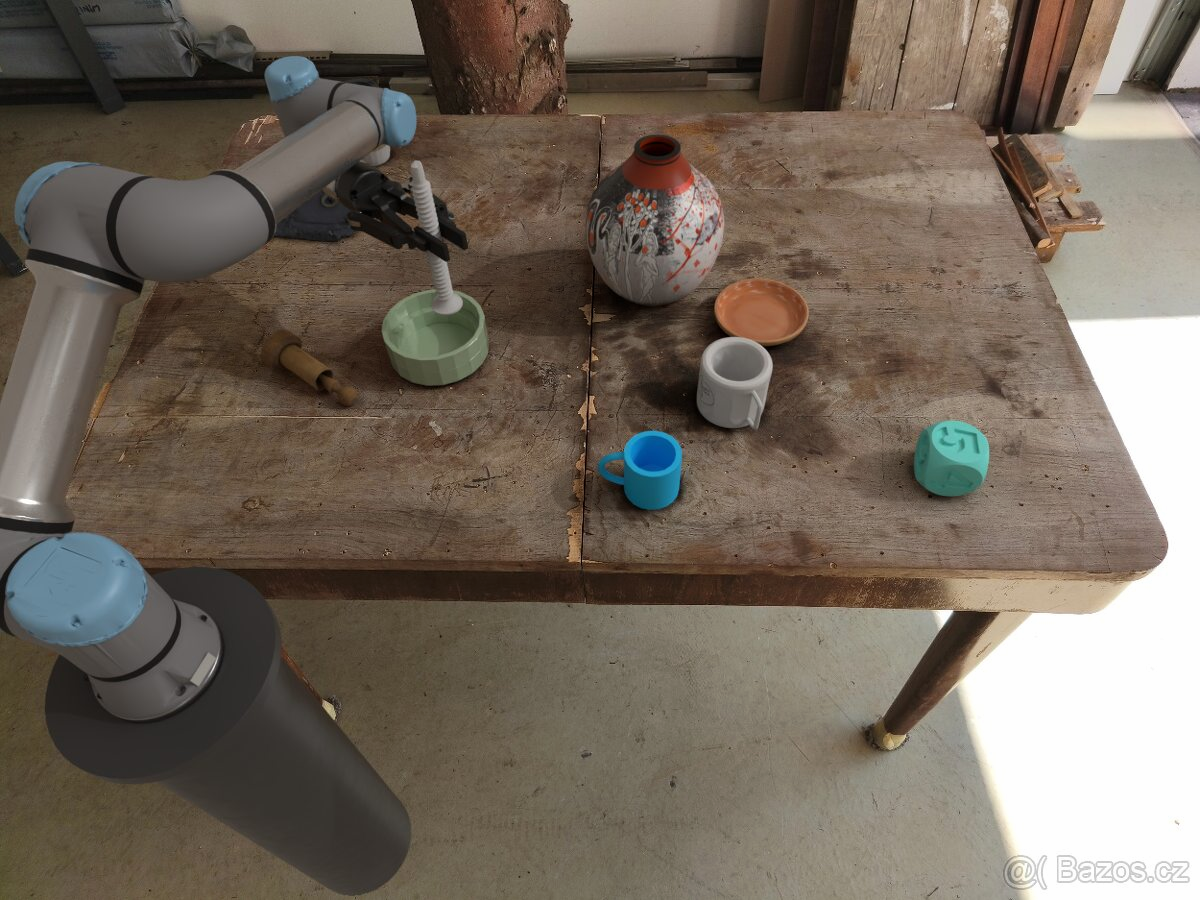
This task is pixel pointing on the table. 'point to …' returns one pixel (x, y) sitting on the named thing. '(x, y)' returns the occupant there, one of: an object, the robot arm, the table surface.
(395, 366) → the bowl
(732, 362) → the mug
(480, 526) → the table surface
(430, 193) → the screw
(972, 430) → the decorative dice
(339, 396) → the mortar and pestle
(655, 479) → the mug
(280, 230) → the dark slate chunk
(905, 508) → the table surface
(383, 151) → the coffee cup
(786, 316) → the saucer
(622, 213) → the vase
